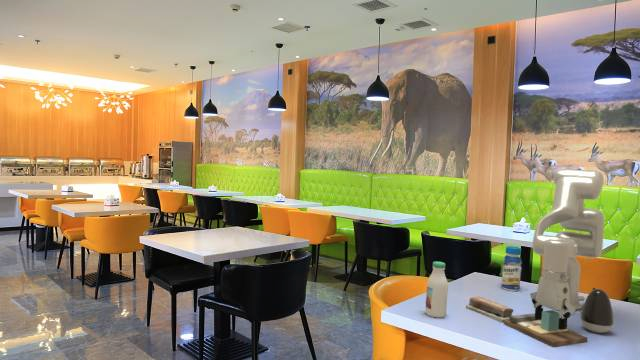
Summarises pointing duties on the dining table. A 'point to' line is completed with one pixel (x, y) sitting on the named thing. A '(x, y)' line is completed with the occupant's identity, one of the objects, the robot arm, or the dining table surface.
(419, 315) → the dining table surface
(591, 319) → the brown egg-shaped diffuser
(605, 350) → the dining table surface
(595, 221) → the robot arm
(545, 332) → the teal block on plate
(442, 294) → the milk bottle
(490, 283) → the dining table surface
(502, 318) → the packaged product
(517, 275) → the beverage bottle
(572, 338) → the ticket board
